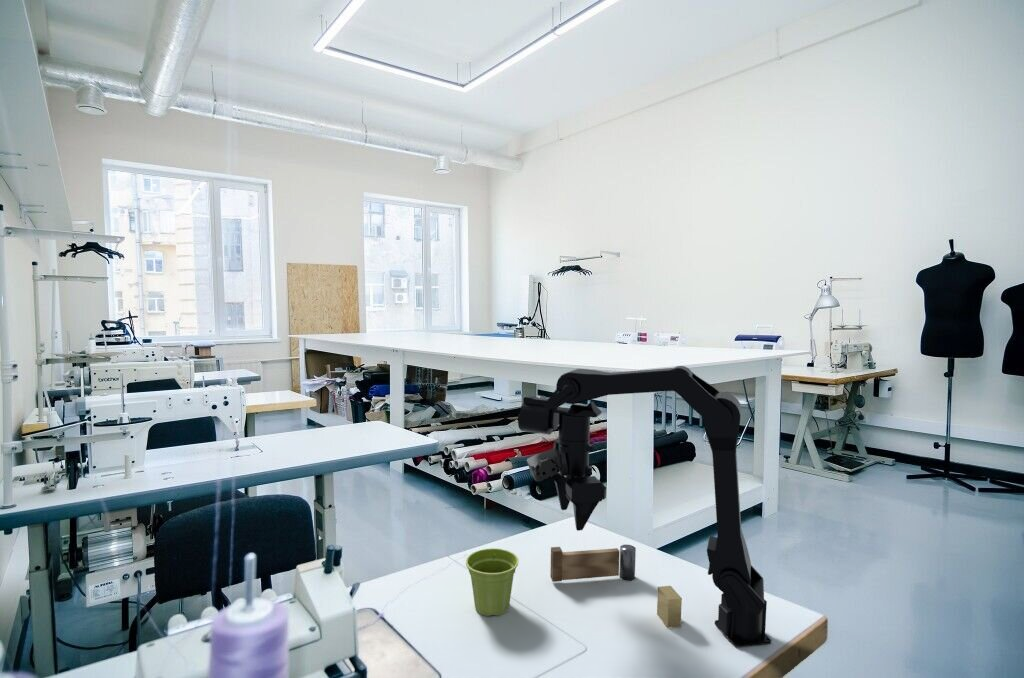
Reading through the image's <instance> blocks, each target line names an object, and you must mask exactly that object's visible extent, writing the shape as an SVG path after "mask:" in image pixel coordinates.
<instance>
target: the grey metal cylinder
mask: <svg viewBox="0 0 1024 678" xmlns="http://www.w3.org/2000/svg"><path fill="white" fill-rule="evenodd" d="M619 547H620V548H619V579H621V580H622V581H624V580H625V581H626V582H631V581H632V580H633V581H634V580H635V579H636V558H637V557H636V556H637V555H636V550H637V548H636V547H635V546H634V545H631V544H622V545H620V546H619ZM633 581H632V582H633Z"/></svg>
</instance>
